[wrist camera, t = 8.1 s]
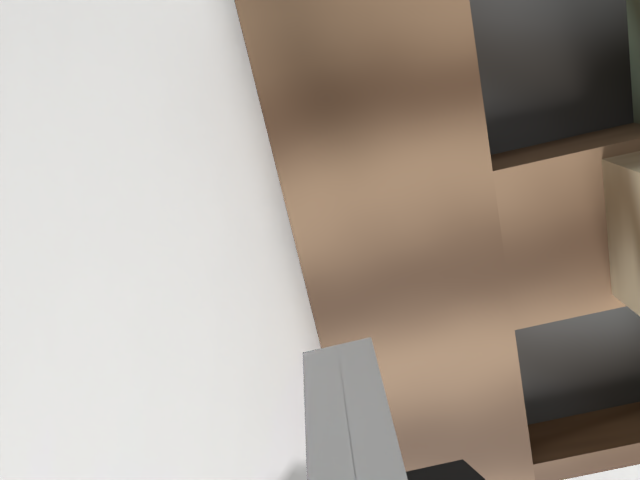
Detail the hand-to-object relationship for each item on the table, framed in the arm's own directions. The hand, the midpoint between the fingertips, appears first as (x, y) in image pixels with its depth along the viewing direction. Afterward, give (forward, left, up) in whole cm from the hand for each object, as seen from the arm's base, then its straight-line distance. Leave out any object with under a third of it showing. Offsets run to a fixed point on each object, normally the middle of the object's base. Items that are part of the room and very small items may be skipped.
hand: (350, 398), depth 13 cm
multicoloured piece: (+1, +8, -11) cm, 14 cm away
